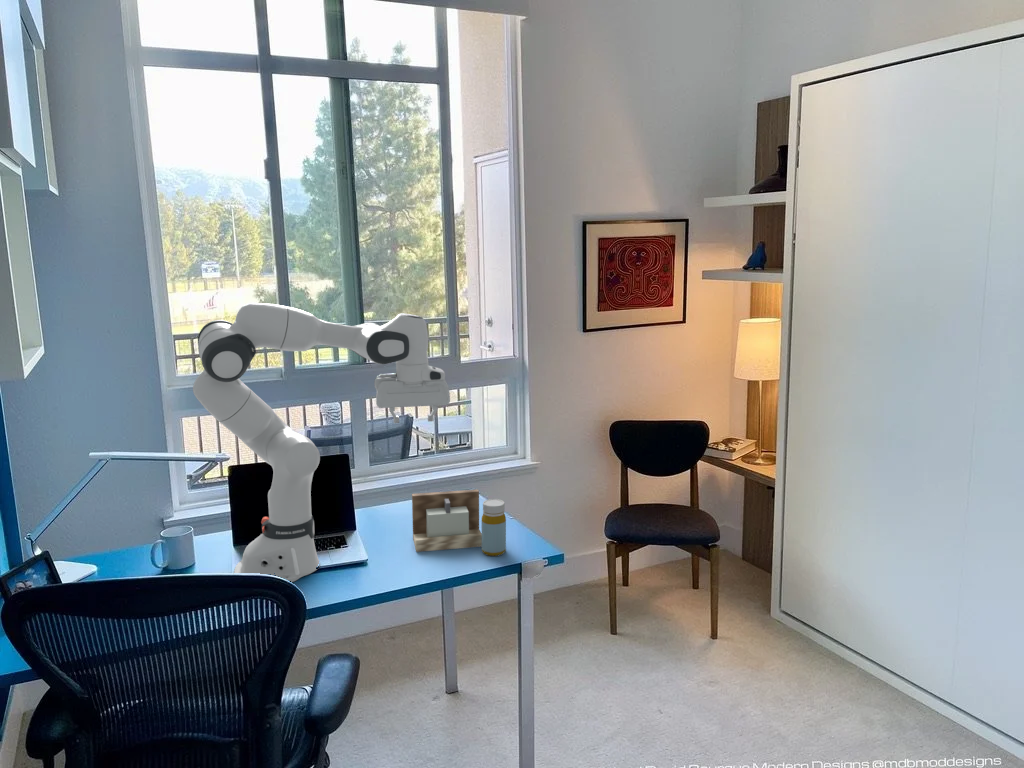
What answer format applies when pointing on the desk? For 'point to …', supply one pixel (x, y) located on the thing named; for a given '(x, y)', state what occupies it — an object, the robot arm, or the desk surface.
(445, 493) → the wall board
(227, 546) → the desk surface
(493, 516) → the bottle
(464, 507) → the white knobbed block
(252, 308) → the robot arm
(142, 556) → the desk surface
